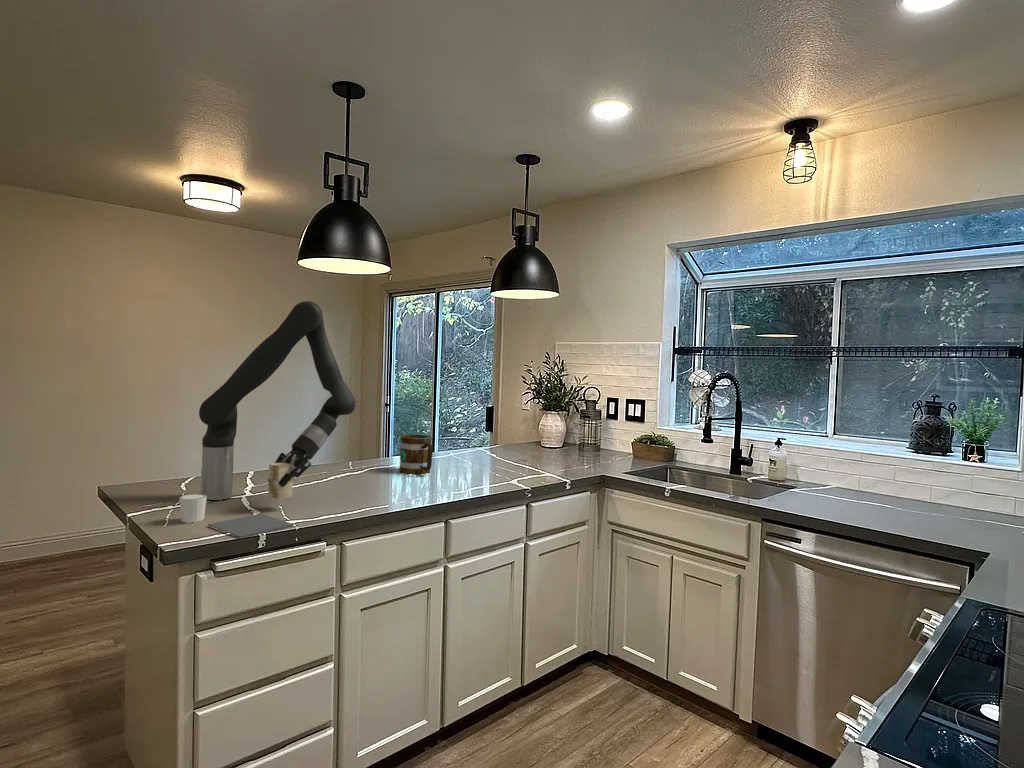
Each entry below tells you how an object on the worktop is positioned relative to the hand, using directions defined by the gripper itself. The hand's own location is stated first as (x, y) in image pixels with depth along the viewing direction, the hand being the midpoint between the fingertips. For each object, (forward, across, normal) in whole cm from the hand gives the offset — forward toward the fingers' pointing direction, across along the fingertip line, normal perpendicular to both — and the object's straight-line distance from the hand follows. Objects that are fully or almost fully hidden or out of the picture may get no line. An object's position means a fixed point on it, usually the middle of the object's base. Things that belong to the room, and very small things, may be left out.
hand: (275, 483), depth 185 cm
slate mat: (+16, +10, -4) cm, 19 cm away
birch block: (+2, 0, +4) cm, 5 cm away
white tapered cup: (+22, -6, -9) cm, 24 cm away
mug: (-47, -10, +58) cm, 75 cm away
